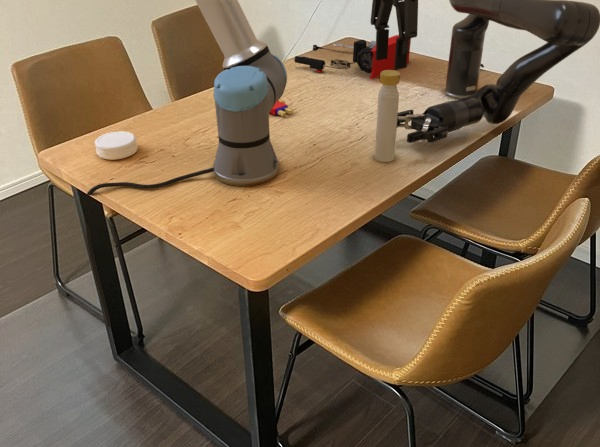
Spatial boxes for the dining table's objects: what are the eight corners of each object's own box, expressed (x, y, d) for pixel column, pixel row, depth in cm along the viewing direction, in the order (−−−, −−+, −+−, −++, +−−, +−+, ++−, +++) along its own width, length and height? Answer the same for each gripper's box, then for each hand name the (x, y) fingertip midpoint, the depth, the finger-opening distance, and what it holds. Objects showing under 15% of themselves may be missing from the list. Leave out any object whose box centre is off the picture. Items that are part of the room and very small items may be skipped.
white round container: (108, 164, 149) (105, 151, 148) (90, 151, 156) (87, 138, 154) (145, 152, 155) (143, 139, 153) (126, 139, 161) (123, 127, 159)
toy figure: (296, 106, 174) (268, 92, 181) (278, 112, 170) (250, 99, 177) (296, 114, 176) (268, 100, 183) (278, 121, 172) (250, 107, 179)
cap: (378, 85, 139) (379, 75, 138) (380, 78, 143) (381, 69, 142) (398, 86, 138) (399, 76, 137) (399, 79, 142) (400, 70, 141)
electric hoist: (293, 36, 204) (372, 51, 189) (336, 22, 223) (412, 35, 208) (292, 67, 209) (370, 83, 194) (335, 51, 228) (409, 65, 213)
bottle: (373, 161, 149) (378, 77, 138) (375, 152, 153) (380, 70, 142) (393, 162, 148) (399, 78, 137) (395, 154, 152) (401, 71, 141)
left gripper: (356, -53, 132) (353, 54, 144) (412, -39, 117) (403, 79, 130) (385, -56, 135) (379, 49, 147) (443, -43, 120) (431, 73, 132)
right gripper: (428, 94, 159) (378, 108, 152) (469, 112, 149) (417, 127, 142) (425, 122, 163) (377, 136, 156) (465, 141, 153) (414, 157, 146)
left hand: (390, 63), depth 138 cm, fingers open, 7 cm apart
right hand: (396, 132), depth 149 cm, fingers open, 8 cm apart
